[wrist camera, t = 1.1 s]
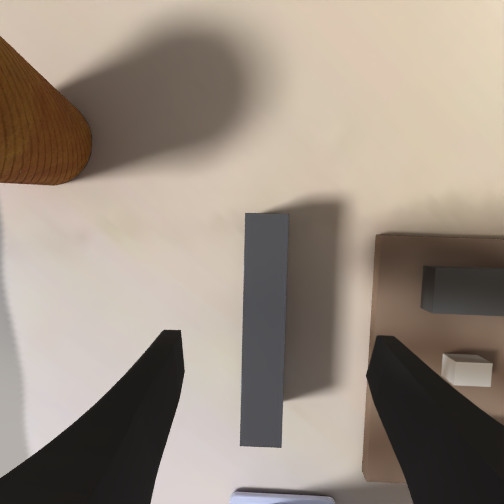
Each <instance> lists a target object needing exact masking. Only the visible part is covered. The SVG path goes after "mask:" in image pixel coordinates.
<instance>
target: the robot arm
mask: <svg viewBox="0 0 504 504" xmlns="http://www.w3.org/2000/svg"><path fill="white" fill-rule="evenodd" d="M184 372H185V370H184V359H183V348H182V338H181V330H163V331H162V332H161V333H160V335H159V336H158V337H157V338H156V339H155V341H154V342H153V343H152V344H151V345H150V347H149V348H148V349H147V350H146V351H145V353H144V354H143V355H142V356H141V357H140V358H139V359H138V361H137V362H136V363H135V364H134V365H133V366H132V367H131V368H130V369H129V370H128V372H127V373H126V374H125V375H124V376H123V377H122V378H121V379H120V380H119V381H118V382H117V383H116V384H115V385H114V386H113V387H112V388H111V389H110V390H109V391H108V392H107V393H106V394H105V395H104V396H103V397H102V398H101V399H100V400H99V401H98V402H97V403H96V404H95V405H94V406H92V407H91V408H90V409H89V410H88V411H87V412H86V413H85V414H83V415H82V416H81V417H80V418H79V419H78V420H77V421H75V422H74V423H73V424H72V425H71V426H69V427H68V428H67V429H66V430H64V431H63V432H62V433H61V434H60V435H58V436H57V437H56V438H55V439H53V440H52V441H51V442H50V443H48V444H47V445H46V446H44V447H43V448H42V449H41V450H39V451H38V452H37V453H35V454H34V455H32V456H31V457H30V458H28V459H27V460H25V461H24V462H23V463H21V464H20V465H18V466H17V467H16V468H14V469H13V470H12V471H10V472H9V473H7V474H6V475H4V476H3V477H1V478H0V504H150V503H151V498H152V493H153V489H154V484H155V480H156V476H157V472H158V468H159V465H160V461H161V458H162V455H163V451H164V448H165V445H166V442H167V438H168V435H169V432H170V429H171V425H172V422H173V419H174V415H175V412H176V409H177V406H178V402H179V399H180V394H181V388H182V383H183V378H184ZM366 377H367V381H368V385H369V388H370V392H371V395H372V399H373V402H374V405H375V407H376V410H377V412H378V415H379V417H380V419H381V422H382V424H383V427H384V429H385V431H386V434H387V436H388V438H389V441H390V443H391V445H392V448H393V450H394V453H395V455H396V457H397V460H398V462H399V464H400V467H401V469H402V472H403V474H404V477H405V480H406V482H407V485H408V488H409V491H410V494H411V497H412V500H413V503H414V504H504V425H502V424H501V423H499V422H498V421H497V420H495V419H494V418H492V417H491V416H490V415H488V414H487V413H485V412H484V411H483V410H481V409H480V408H479V407H478V406H476V405H475V404H474V403H472V402H471V401H470V400H469V399H467V398H466V397H465V396H464V395H462V394H461V393H460V392H458V391H457V390H456V389H455V388H454V387H452V386H451V385H450V384H449V383H448V382H446V381H445V380H444V379H443V378H442V377H440V376H439V375H438V374H437V373H436V372H435V371H433V370H432V369H431V368H430V367H429V366H428V365H427V364H425V363H424V362H423V361H422V360H421V359H420V358H419V357H418V356H416V355H415V354H414V353H413V352H412V351H411V350H410V349H408V348H407V347H406V346H405V345H404V344H403V343H402V342H400V341H399V340H398V339H397V338H396V337H395V336H389V335H377V337H376V340H375V344H374V348H373V352H372V355H371V359H370V363H369V367H368V370H367V374H366ZM230 504H335V501H334V499H333V498H332V497H329V496H310V495H291V494H272V493H253V492H233V493H232V494H231V496H230Z"/></svg>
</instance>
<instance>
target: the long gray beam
mask: <svg viewBox="0 0 504 504" xmlns="http://www.w3.org/2000/svg"><path fill="white" fill-rule="evenodd" d="M288 227H289V214H265V213H245V248H244V292H243V336H242V375H241V424H240V446H251V447H276V448H281V445H282V414H283V383H284V352H285V321H286V290H287V258H288Z"/></svg>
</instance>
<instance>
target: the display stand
mask: <svg viewBox="0 0 504 504" xmlns="http://www.w3.org/2000/svg"><path fill="white" fill-rule="evenodd" d="M377 335H389V336H395V337H396V338H397V339H398V340H399V341H400V342H402V343H403V344H404V345H405V346H406V347H407V348H408V349H410V350H411V351H412V352H413V353H414V354H415V355H416V356H418V357H419V358H420V359H421V360H422V361H423V362H424V363H425V364H427V365H428V366H429V367H430V368H431V369H432V370H433V371H435V372H436V373H437V374H438V375H439V376H440V377H442V378H443V379H444V380H445V381H446V382H448V383H449V384H450V385H451V386H452V387H454V388H455V389H456V390H457V391H458V392H460V393H461V394H462V395H464V396H465V397H466V398H467V399H469V400H470V401H471V402H472V403H474V404H475V405H476V406H478V407H479V408H480V409H481V410H483V411H484V412H485V413H487V414H488V415H490V416H491V417H492V418H494V419H495V420H497V421H498V422H499V423H501V424H502V425H504V239H483V238H453V237H423V236H393V235H376V243H375V260H374V277H373V294H372V310H371V327H370V344H369V361H368V367H369V363H370V359H371V355H372V352H373V348H374V344H375V340H376V337H377ZM362 472H363V474H364V477H365V479H366V481H369V482H389V483H407V482H406V480H405V477H404V474H403V472H402V469H401V467H400V464H399V462H398V460H397V457H396V455H395V453H394V450H393V448H392V445H391V443H390V441H389V438H388V436H387V434H386V431H385V429H384V427H383V424H382V422H381V419H380V417H379V415H378V412H377V410H376V407H375V405H374V402H373V399H372V395H371V392H370V388H369V385H368V381H367V394H366V411H365V428H364V444H363V461H362Z"/></svg>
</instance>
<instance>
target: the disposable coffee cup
mask: <svg viewBox="0 0 504 504" xmlns="http://www.w3.org/2000/svg"><path fill="white" fill-rule="evenodd" d="M91 147H92V138H91V133H90V128H89V126H88V124H87V122H86V120H85V118H84V117H83V115H82V114H81V112H80V111H79V110H77V109H76V108H75V107H74V106H73V105H72V104H71V103H70V102H69V101H68V100H67V99H66V98H65V97H64V96H62V95H61V94H60V93H59V92H58V91H57V90H56V89H55V88H54V87H53V86H52V85H51V84H50V83H49V82H48V81H47V80H46V79H45V78H44V77H43V76H42V75H41V74H40V73H38V72H37V71H36V70H35V69H34V68H33V67H32V66H31V65H30V64H29V63H28V62H27V61H26V60H25V59H24V58H23V57H22V56H21V55H20V54H18V53H17V52H16V51H15V49H14V48H13V47H11V46H10V45H9V44H8V43H7V42H6V41H5V40H4V39H3V38H2V37H1V36H0V183H18V184H37V185H58V184H62V183H65V182H68V181H70V180H72V179H73V178H74V177H76V176H77V175H78V174H79V173H80V172H81V171H82V170H83V168H84V167H85V165H86V164H87V162H88V159H89V157H90V154H91Z"/></svg>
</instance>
